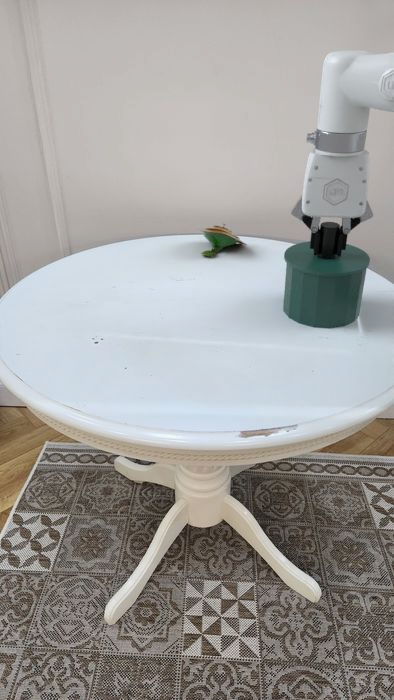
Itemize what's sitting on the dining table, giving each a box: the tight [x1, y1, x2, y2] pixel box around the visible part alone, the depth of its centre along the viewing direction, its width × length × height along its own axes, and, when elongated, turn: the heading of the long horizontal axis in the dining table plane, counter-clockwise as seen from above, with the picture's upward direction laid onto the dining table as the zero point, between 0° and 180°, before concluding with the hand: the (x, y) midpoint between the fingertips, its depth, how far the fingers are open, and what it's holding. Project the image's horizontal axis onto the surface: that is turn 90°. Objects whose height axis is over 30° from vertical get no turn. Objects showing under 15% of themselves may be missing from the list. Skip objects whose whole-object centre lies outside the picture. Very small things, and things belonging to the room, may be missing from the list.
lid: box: [283, 221, 371, 276], centre depth 92 cm, size 15×15×7 cm
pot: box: [282, 263, 368, 329], centre depth 96 cm, size 14×14×10 cm
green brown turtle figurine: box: [193, 223, 248, 258], centre depth 123 cm, size 15×13×8 cm
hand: (327, 252), depth 92 cm, fingers closed on lid, 3 cm apart
